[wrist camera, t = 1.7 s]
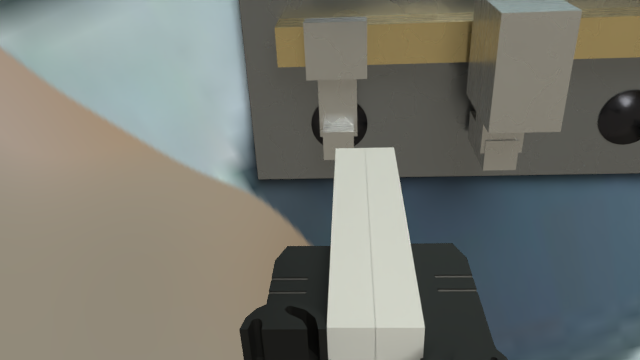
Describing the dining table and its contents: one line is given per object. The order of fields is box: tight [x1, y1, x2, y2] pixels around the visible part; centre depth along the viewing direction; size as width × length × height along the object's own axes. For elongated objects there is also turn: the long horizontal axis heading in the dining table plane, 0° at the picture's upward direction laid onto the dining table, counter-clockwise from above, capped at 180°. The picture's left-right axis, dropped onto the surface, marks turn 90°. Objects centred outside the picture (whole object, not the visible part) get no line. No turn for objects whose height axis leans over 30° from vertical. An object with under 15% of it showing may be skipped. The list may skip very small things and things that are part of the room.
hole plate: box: [239, 0, 640, 179], centre depth 30 cm, size 12×28×1 cm, turn 92°
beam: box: [275, 7, 640, 160], centre depth 28 cm, size 7×25×3 cm, turn 92°
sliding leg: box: [466, 0, 582, 171], centre depth 26 cm, size 8×3×7 cm, turn 2°
